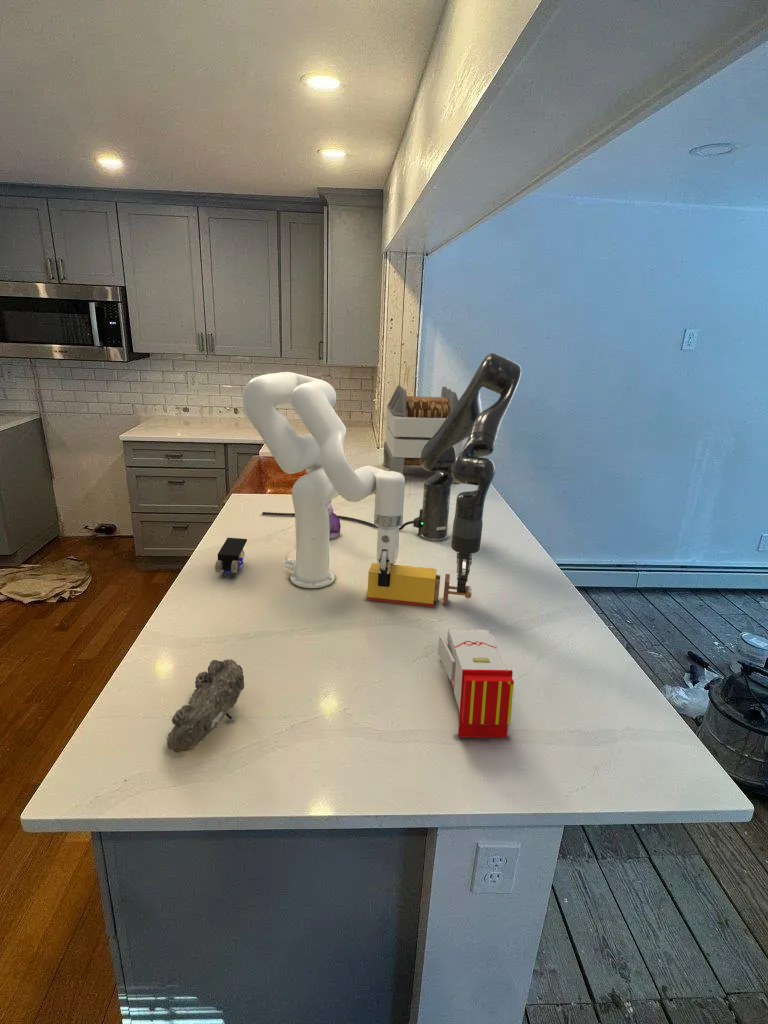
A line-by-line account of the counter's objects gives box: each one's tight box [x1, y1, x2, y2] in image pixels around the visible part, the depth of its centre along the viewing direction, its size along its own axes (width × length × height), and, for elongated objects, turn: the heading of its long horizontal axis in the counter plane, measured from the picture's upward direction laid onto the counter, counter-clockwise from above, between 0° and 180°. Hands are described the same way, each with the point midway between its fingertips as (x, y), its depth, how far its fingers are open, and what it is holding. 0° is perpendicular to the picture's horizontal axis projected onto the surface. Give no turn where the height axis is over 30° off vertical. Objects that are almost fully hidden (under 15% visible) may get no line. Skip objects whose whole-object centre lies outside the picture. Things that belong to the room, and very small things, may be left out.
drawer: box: [434, 573, 472, 605], centre depth 153 cm, size 23×5×7 cm, turn 82°
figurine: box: [326, 499, 342, 539], centre depth 193 cm, size 9×10×15 cm
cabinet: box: [366, 562, 438, 608], centre depth 154 cm, size 18×6×8 cm, turn 82°
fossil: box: [166, 658, 245, 754], centre depth 106 cm, size 22×10×15 cm
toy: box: [437, 628, 515, 738], centre depth 117 cm, size 12×13×30 cm
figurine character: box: [214, 537, 248, 578], centre depth 166 cm, size 7×8×15 cm
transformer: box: [383, 384, 464, 484], centre depth 268 cm, size 34×33×41 cm
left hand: (385, 579), depth 154 cm, fingers closed on cabinet, 6 cm apart
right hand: (460, 592), depth 152 cm, fingers closed
